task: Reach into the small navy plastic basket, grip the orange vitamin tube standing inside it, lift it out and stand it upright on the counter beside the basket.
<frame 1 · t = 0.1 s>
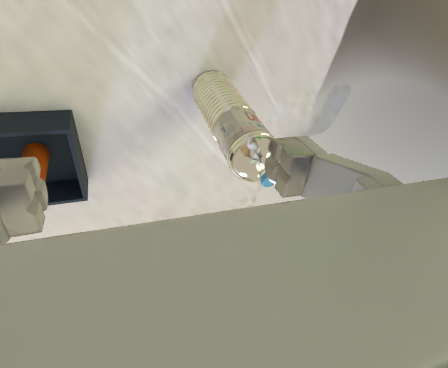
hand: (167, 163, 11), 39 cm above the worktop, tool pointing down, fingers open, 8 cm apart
basket: (37, 150, 50), on the worktop
tube: (36, 152, 49), resting on basket
water bottle: (210, 88, 52), on the worktop
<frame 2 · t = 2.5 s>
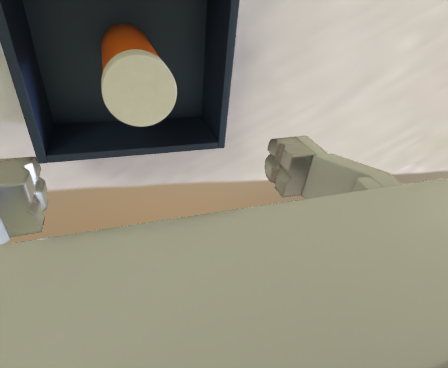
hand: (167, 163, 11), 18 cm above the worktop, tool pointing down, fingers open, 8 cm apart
basket: (126, 48, 24), on the worktop
tube: (126, 49, 24), resting on basket
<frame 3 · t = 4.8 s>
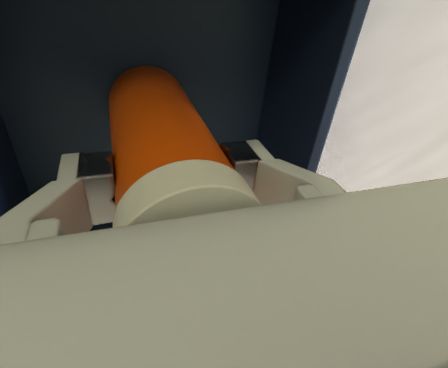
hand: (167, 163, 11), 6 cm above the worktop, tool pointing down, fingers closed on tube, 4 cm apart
basket: (147, 100, 16), on the worktop
tube: (148, 103, 15), resting on basket, touching gripper
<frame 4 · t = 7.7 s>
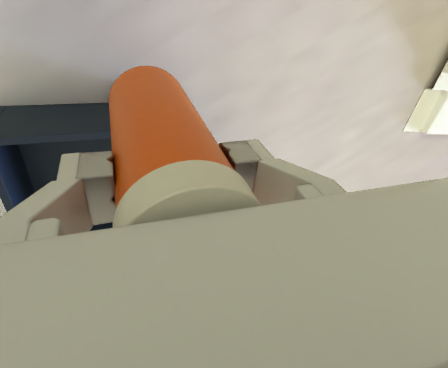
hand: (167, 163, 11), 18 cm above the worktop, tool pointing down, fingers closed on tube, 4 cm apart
basket: (103, 166, 30), on the worktop
tube: (148, 103, 15), point 12 cm above the worktop, touching gripper
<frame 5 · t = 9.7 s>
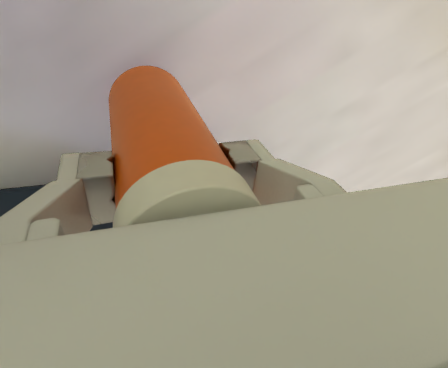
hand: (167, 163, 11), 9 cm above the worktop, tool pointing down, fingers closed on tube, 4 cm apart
basket: (99, 248, 24), on the worktop
tube: (148, 103, 15), point 3 cm above the worktop, touching gripper
when the fingers open (6 cm above the worktop, at t = 10.9 s): tube stays where it is, on the worktop.
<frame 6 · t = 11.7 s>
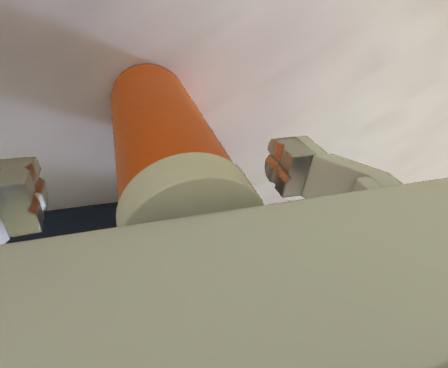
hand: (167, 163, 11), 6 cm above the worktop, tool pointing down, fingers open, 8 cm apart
basket: (101, 275, 22), on the worktop
tube: (149, 101, 16), on the worktop
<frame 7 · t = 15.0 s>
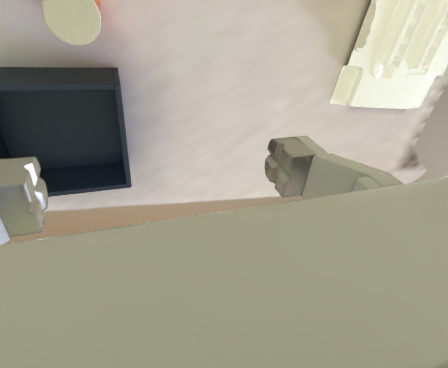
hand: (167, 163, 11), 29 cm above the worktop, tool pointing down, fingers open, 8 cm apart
tray: (417, 13, 44), on the worktop
basket: (62, 123, 37), on the worktop
tube: (79, 2, 31), on the worktop
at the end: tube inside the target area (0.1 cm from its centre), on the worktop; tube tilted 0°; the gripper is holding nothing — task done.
